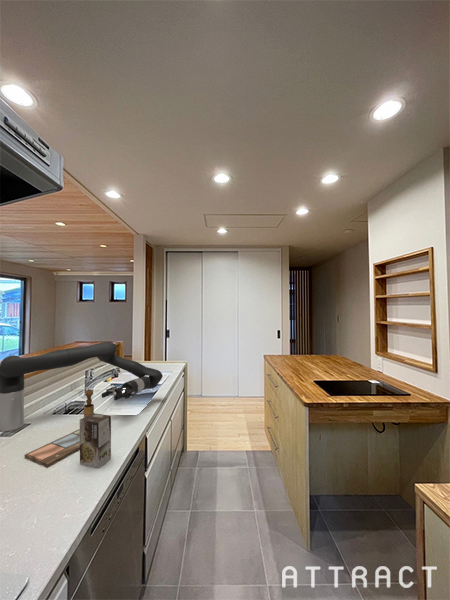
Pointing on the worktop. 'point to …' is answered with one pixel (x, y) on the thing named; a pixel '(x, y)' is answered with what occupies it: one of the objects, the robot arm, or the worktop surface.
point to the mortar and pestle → (88, 404)
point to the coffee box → (95, 440)
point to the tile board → (56, 450)
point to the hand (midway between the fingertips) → (108, 396)
